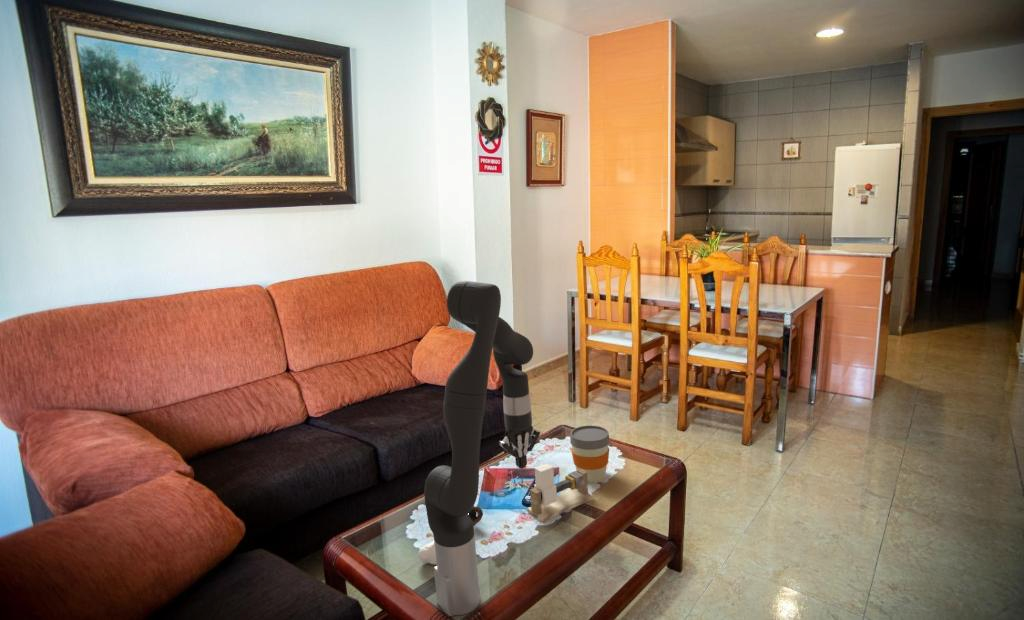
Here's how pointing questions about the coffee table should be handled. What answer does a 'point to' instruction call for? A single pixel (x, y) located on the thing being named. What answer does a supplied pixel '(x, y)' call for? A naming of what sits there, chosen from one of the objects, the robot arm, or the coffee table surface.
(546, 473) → the cream upright block
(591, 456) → the reusable coffee cup
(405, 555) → the coffee table surface
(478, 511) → the pottery mug
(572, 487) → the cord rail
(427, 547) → the duck figurine
